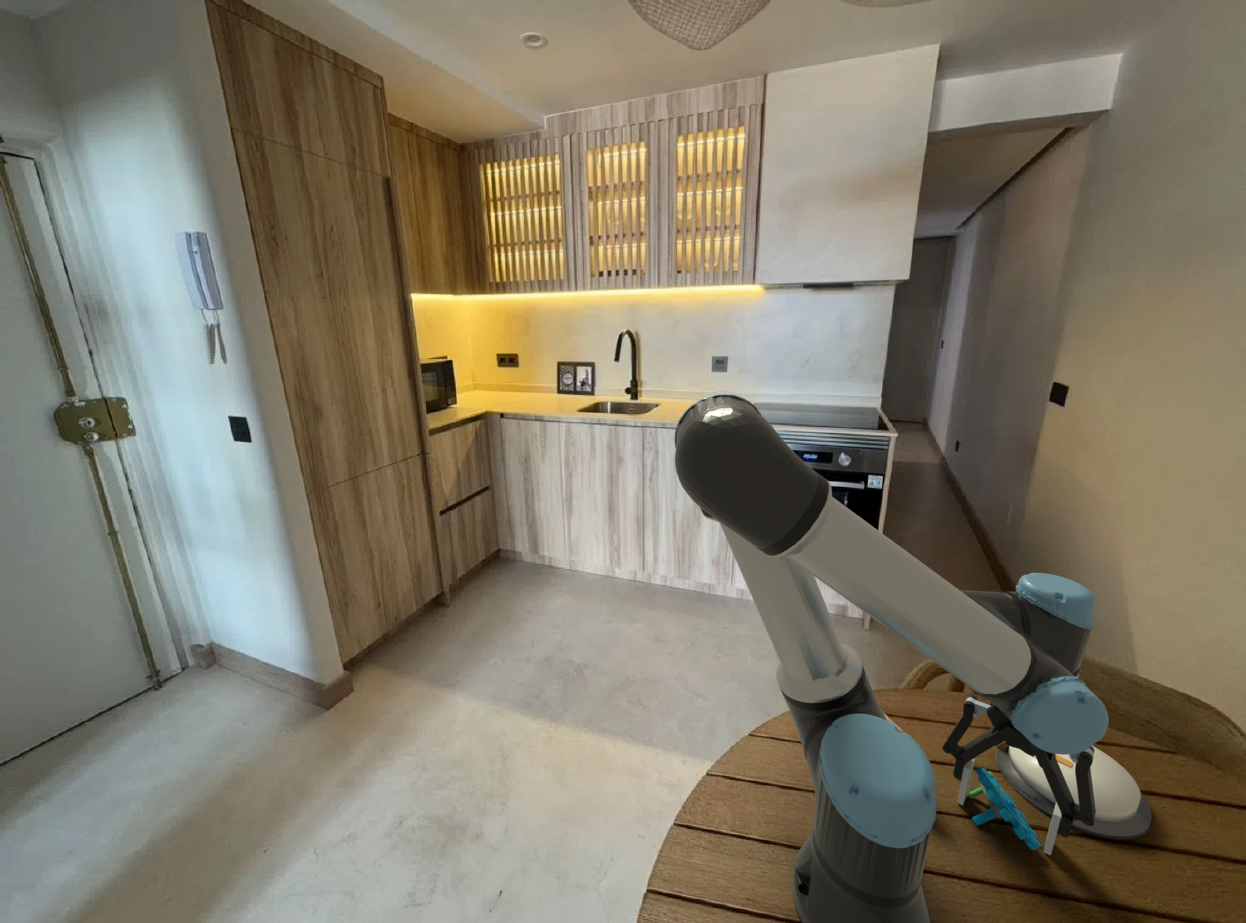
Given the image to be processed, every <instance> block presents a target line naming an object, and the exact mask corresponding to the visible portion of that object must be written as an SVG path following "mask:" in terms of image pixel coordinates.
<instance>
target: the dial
mask: <svg viewBox="0 0 1246 923" xmlns="http://www.w3.org/2000/svg"><path fill="white" fill-rule="evenodd" d="M1091 746H1092V747H1093V748H1094V757H1093V762H1092V765H1091V767H1090V769H1091V777H1092V785H1093V793H1094V801H1095V809H1096V813H1095V820H1099V821H1104V822H1123V821H1127V820H1129V819H1131V818H1132V817H1134V815H1135V814H1136V812H1137V809H1138V806H1139V802H1140V799H1141V793H1142V792H1141V790H1140V788H1139V785H1138V783H1137V782H1136V780H1135V779H1134V777H1133V776H1132V775H1131V774H1130V773H1129V771H1127V770H1126V769H1125V767H1123V766H1122V765H1121V764H1120V763H1119V762H1118V761H1116V760H1115V759H1114V758H1112V757H1111V756H1109V755H1108V754H1106V753H1105V752H1103V751H1102V750H1100V749H1099V748H1097V747H1095V746H1094V745H1091ZM1008 755H1009V759H1010V762H1011V764H1012V766H1013V767H1014V769H1015V770H1016V772H1017V773H1018V774H1019V775H1020V777H1021V778H1022V779H1023V780H1024V781H1025V782H1026V783H1027V784H1028V785H1030V786H1031V787H1032V788H1033V789H1034V790H1036V791H1037V792H1038V793H1040V794H1041V795H1042V796H1044V797H1045V798H1047V799H1049V800H1050V801H1052V802H1054V803H1055V804H1056V800H1055V797H1054V795H1053V793H1052V790H1051V788H1050V786H1049V783H1048V781H1047V779H1046V776H1045V774H1044V772H1043V769H1042V768H1041V767H1040V766H1039V764H1038V761H1037V759H1036V756H1034V757H1032V756H1030V755H1028V754H1026V753H1025V752H1023V751H1022V750H1020V749H1017V748H1014V747H1011V746H1009V750H1008ZM1055 755H1056V760H1057V762H1058V764H1059V767H1060V769H1061V771H1062V774H1063V776H1064V778H1065V781H1066V783H1067V785H1068V788H1069V790H1070V792H1071V795H1072V797H1073V799H1074V802H1075V804H1078V805H1079V799H1078V791H1077V783H1076V775H1075V766H1076V763H1074V762H1073V761H1072V759H1071V758H1070V756H1069V754H1068V755H1061V754H1055ZM1140 792H1141V793H1140Z"/></svg>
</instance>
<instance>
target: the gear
mask: <svg viewBox="0 0 1246 923" xmlns="http://www.w3.org/2000/svg"><path fill="white" fill-rule="evenodd" d="M974 772H975V773H976V774H977V780H978V782H979V786H980V787H978V788H976V789H974V790H972V791H970V792H969V791H968V794H967V796H968V797H969V798H970V799H971V800H972V799H974V798H977V797H978V796H980V795H982V794H984V796H985V798H986V800H987V803H988V805H989V807H990V808H989V809H988V810H985V811H983V812H981V813H979V814H977V815H973V816H972V817H971V819H972V820H973V822H974V824H975V825H976V826H979V825H982V824H984V823H987V822H989V821H991V820H993V819H995V818H998V819H999V820H1000V819H1003V820H1004V821H1005V822H1010V823H1011V825H1012V826H1013V828H1012V830H1013V832H1014V833H1015V834H1016V835H1017V837H1018V838H1019V839H1020V840H1021V841H1022V840H1024V842H1025V844H1026V845H1027V846H1028V848H1029V849H1030V850H1032V851H1034V850H1036V849H1039V848H1041V847H1042V845H1041V843H1040V842H1039V840H1038V839H1037V838H1038V836H1037V833H1036V832H1035V831H1034V829H1032V828H1031V827H1030V826H1029V824H1028V820H1027V818H1026V816H1025V815H1024V814H1023V812H1022V811H1020V810H1019V809H1018V808H1017V805H1016V803H1015V801H1014V800H1013V799H1012V797H1011V796H1010V794H1008V793H1006V792H1005V791H1004V789H1003V788H1002V786H1001V784H1000V783H999V782H998V780H997V779H996V777H995V774H994V773H993V772H992V771H991V770H989V771H988V770H986V768H982V767H979V768H977V769H975V770H974Z"/></svg>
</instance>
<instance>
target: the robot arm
mask: <svg viewBox="0 0 1246 923" xmlns="http://www.w3.org/2000/svg"><path fill="white" fill-rule="evenodd" d="M674 447H675V452H674V453H675V454H674V467H675V472H676V475H677V478H678V481H679V483H680V486H681V488H682V489H683V490H684V491H685V492H686V493H687V495H688V497H689V498H690V499H691V500H692V501H693V502H694V503H695V504H696V505H697V506H698V507H699V508H700V511H701V513H702V515H703V516H704V517H705V518H706V519H709V520H711V521H715V522H717V523H719V525H720V527H721V529H722V531H723V534H724V537H725V539H726V541H727V543H728V545H729V548H730V550H731V552H732V554H733V557H734V559H735V561H736V564H737V565H738V568H739V570H740V573H741V575H742V577H743V580H744V582H745V584H746V587H747V589H748V591H749V593H750V596H751V598H752V600H753V603H754V605H755V607H756V609H757V611H758V613H759V616H760V618H761V621H762V623H763V626H764V627H765V630H766V632H767V635H768V637H769V639H770V641H771V643H772V646H773V648H774V651H775V653H776V655H777V657H778V660H779V663H778V665H777V669H776V671H775V672H776V674H775V675H776V677H775V678H776V681H777V684H778V687H779V689H780V691H781V694H782V696H783V698H784V701H785V702H786V705H787V708H788V710H789V713H790V715H791V717H792V719H793V722H794V725H795V729H796V730H797V733H798V737H799V740H800V743H801V747H802V750H803V753H804V758H805V759H806V763H807V767H808V772H809V774H810V778H811V781H812V782H811V783H812V784H813V787H814V793H815V794H814V795H815V807H814V814H813V815H814V816H813V817H814V818H813V825H812V826H813V827H812V832H811V833H810V834H809V835H808V838H807V839H806V840H805V841H804V843H803V844H802V846H801V848H800V849H799V850H798V853H797V855H796V858H795V860H794V866H793V871H792V881H791V882H792V883H791V884H792V887H791V890H792V897H793V902H794V906H795V909H796V912H797V915H798V917H799V919H800V921H801V923H931V921H930V915H929V910H928V907H927V903H926V899H925V895H924V892H923V887H922V879H923V872H924V868H925V864H926V863H925V862H926V858H927V854H928V853H927V852H928V847H929V842H930V838H931V832H932V827H933V826H934V823H935V821H936V817H937V816H936V815H937V804H938V803H937V802H938V801H937V800H938V799H937V781H936V780H937V779H936V775H935V772H934V769H933V766H932V764H931V761H930V759H929V757H927V754H926V753H925V751H924V750H923V749H922V748H921V746H920V745H919V743H917V742H916V741H915V739H913V738H912V737H911V735H909V734H908V733H907V732H906V733H899V732H898V731H897V727H896V726H895V725H894V724H892V723H890V722H888V721H887V719H886V717H885V715H884V713H885V712H884V711H883V710H882V708H881V707H882V706H880V704H879V701H878V699H877V697H876V695H875V692H874V690H873V687H872V685H871V682H870V680H869V678H868V676H867V673H866V671H865V667H864V665H863V663H862V660H861V658H860V656H859V655H858V653H857V652H856V651H855V650H854V648H852V647H851V646H848V645H847V644H844V643H842V642H841V640H840V637H839V634H838V632H837V630H836V626H835V624H834V621H833V619H832V617H831V614H830V611H829V609H828V607H827V604H826V601H825V600H824V597H823V595H822V592H821V590H820V587H819V585H818V582H817V580H819V581H821V582H822V583H823V584H825V585H826V586H827V587H829V588H830V589H831V590H833V591H834V592H836V593H837V594H839V595H840V596H842V597H843V598H844V599H846V600H847V601H848V602H850V603H851V604H853V605H854V606H855V607H856V608H858V609H859V610H861V611H862V612H864V613H865V614H867V615H868V616H869V617H870V618H872V619H874V620H875V621H876V622H878V623H880V625H882V626H884V628H887V629H888V630H889V631H891V632H892V633H893V634H895V635H896V636H897V637H898V638H900V639H901V640H903V641H904V642H906V643H907V644H909V645H910V646H911V647H913V648H915V650H917V651H918V652H920V653H921V654H923V655H924V656H925V657H927V658H928V659H929V660H931V661H933V662H934V663H935V664H937V665H938V666H939V667H941V668H942V669H944V670H945V671H946V672H948V673H950V674H951V675H952V676H953V677H955V678H957V679H958V680H959V681H960V682H962V683H963V684H964V685H965V686H968V687H969V688H971V689H972V690H973V691H975V692H976V694H978V695H980V696H981V697H982V698H984V699H985V700H987V701H988V702H989V703H990V704H988V703H985V702H982V701H979V699H978V697H977V696H975V695H973V694H969V695H968V696H967V698H966V700H965V702H964V704H963V708H962V709H963V710H962V711H963V712H962V715H961V716H960V718H959V719H958V721H957V723H956V724H955V725H954V727H953V728H952V730H951V732H950V733H949V735H948V736H947V737H946V739H945V741H944V743H943V745H942V751H943V752H945V754H948V755H949V754H950V755H951V756H952V757H953V758H954V760H955V762H954V767H953V773H952V775H953V777H954V778H953V779H956V780H958V781H959V782H960V785H959V790H958V795H957V800H956V803H958V804H959V805H961V806H964V803H965V801H966V798H967V797H968V793H969V790H970V785H971V784H970V783H971V779H972V775H973V769H974V766H975V760H976V758H977V757H979V756H980V755H982V754H983V753H985V752H986V751H988V750H990V749H991V748H993V747H997V745H999V744H1000V743H1002V742H1004V741H1005V744H1007V745H1009V746H1011V747H1014V748H1017V749H1020V750H1022V751H1023V752H1025V753H1026V754H1028V755H1030V756H1032V757H1034V756H1036V759H1037V761H1038V764H1039V766H1040V767H1041V768H1042V769H1043V772H1044V774H1045V776H1046V779H1047V781H1048V783H1049V786H1050V788H1051V790H1052V793H1053V795H1054V797H1055V800H1056V804H1055V808H1054V812H1053V816H1052V817H1051V820H1050V823H1049V828H1048V831H1047V836H1046V840H1045V842H1044V843H1045V844H1044V848H1043V853H1045V854H1047V855H1048V856H1051V855H1052V852H1053V849H1054V845H1055V841H1056V838H1057V835H1060V836H1061V837H1064V838H1066V839H1067V838H1068V837H1070V834H1071V830H1072V824H1073V821H1074V820H1079V821H1082V822H1083V823H1084V824H1086V825H1088V826H1093V825H1094V820H1095V813H1096V809H1095V801H1094V793H1093V785H1092V777H1091V769H1090V767H1091V765H1092V762H1093V757H1094V748H1093V747H1092V746H1094V745H1096V743H1097V742H1100V741H1101V740H1102V739H1103V737H1104V736H1105V734H1106V733H1107V730H1108V727H1109V723H1110V722H1109V718H1110V717H1109V713H1108V711H1107V709H1106V705H1105V704H1104V703H1103V701H1101V699H1100V698H1099V697H1098V696H1097V695H1095V693H1094V692H1092V691H1091V689H1089V687H1087V684H1086V683H1085V682H1084V681H1083V680H1081V679H1079V676H1080V670H1081V667H1082V663H1083V660H1084V656H1085V652H1086V649H1087V646H1088V642H1089V638H1090V635H1091V632H1092V630H1093V629H1094V624H1093V623H1094V618H1095V611H1096V598H1095V596H1094V594H1093V592H1091V590H1089V589H1088V588H1087V587H1085V586H1083V585H1082V584H1081V583H1079V582H1077V581H1074V580H1072V579H1070V578H1066V577H1063V576H1060V575H1056V574H1051V573H1045V572H1031V573H1029V574H1024V575H1022V576H1021V577H1020V578H1019V580H1018V583H1017V585H1015V588H1014V590H1015V591H999V592H998V591H982V590H967V589H966V590H965V589H963V590H961V589H958V588H957V587H956V586H954V585H953V583H951V582H949V581H948V580H946V579H945V578H943V577H942V576H941V575H940V574H939V573H937V572H935V571H934V570H932V569H931V568H930V567H928V566H927V565H926V564H924V563H923V562H922V561H920V560H919V559H918V558H916V557H915V556H914V555H912V554H911V553H910V552H908V551H907V550H905V549H904V548H903V547H901V545H899V544H897V543H895V542H894V540H892V539H890V538H889V537H887V536H886V535H885V534H883V533H882V532H881V531H879V530H878V529H877V528H875V527H874V526H873V525H871V524H870V523H869V522H867V521H866V520H865V519H863V518H862V517H861V516H859V515H857V514H856V512H853V511H852V510H851V509H850V508H848V507H847V506H846V505H844V504H843V503H841V502H840V501H839V500H837V499H836V498H835V497H833V492H832V491H833V490H832V485H831V483H830V481H829V480H828V479H827V478H825V477H823V476H822V475H821V474H820V473H819V472H817V471H815V470H814V469H813V468H811V466H809V465H808V464H807V463H806V462H805V461H804V460H803V459H801V458H800V456H799V455H798V454H797V453H795V451H794V450H793V449H792V448H791V447H790V446H789V445H788V443H786V441H785V440H784V439H783V438H782V437H781V435H780V433H778V432H777V430H776V429H775V428H774V426H773V425H772V424H771V423H770V422H769V421H768V420H767V419H766V418H765V417H764V416H763V415H762V413H761V411H759V410H758V408H757V407H756V406H755V404H753V403H752V402H751V401H749V400H748V399H746V398H744V397H741V396H739V395H736V394H730V393H727V394H726V393H716V394H711V395H707V396H705V397H702V398H700V399H698V400H697V401H695V402H694V403H692V404H691V405H690V406H689V407H688V408H687V409H686V410H685V412H684V413H683V414H682V415H681V416H680V418H679V419H678V421H677V425H676V428H675V432H674ZM816 579H817V580H816ZM883 712H884V713H883ZM984 714H985V715H987V718H988V719H989V721H990V722H991V724H992V726H991V727H990V728H988V729H987V730H985V731H984V732H982V733H981V734H979V735H978V736H977V737H975V738H973V739H972V740H970V741H969V742H967V743H966V744H965V745H963V744H962V745H959V742H960V741H961V740H962V738H963V737H964V735H965V733H966V732H967V731H968V729H969V727H970V726H971V724H972V723H973V721H974V719H977V718H981V717H982V715H984ZM1091 745H1092V746H1091ZM1055 754H1061V755H1068V754H1069V756H1070V758H1071V759H1072V761H1073V762H1074V763H1076V766H1075V775H1076V783H1077V791H1078V799H1079V805H1078V804H1075V802H1074V799H1073V797H1072V795H1071V792H1070V790H1069V788H1068V785H1067V783H1066V781H1065V778H1064V776H1063V774H1062V771H1061V769H1060V767H1059V764H1058V762H1057V760H1056V755H1055Z"/></svg>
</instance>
